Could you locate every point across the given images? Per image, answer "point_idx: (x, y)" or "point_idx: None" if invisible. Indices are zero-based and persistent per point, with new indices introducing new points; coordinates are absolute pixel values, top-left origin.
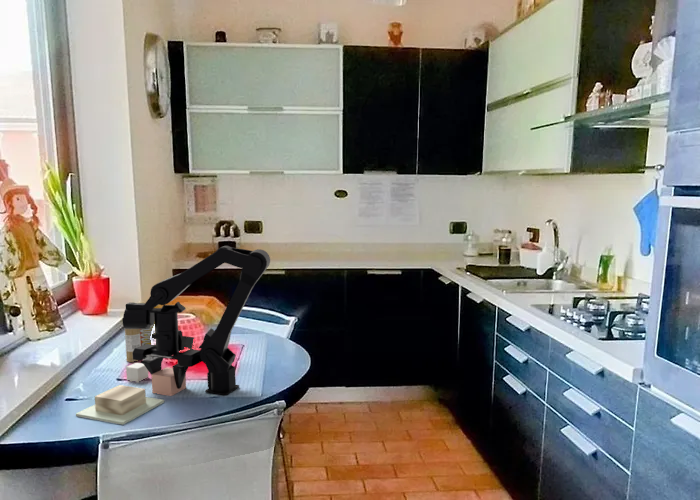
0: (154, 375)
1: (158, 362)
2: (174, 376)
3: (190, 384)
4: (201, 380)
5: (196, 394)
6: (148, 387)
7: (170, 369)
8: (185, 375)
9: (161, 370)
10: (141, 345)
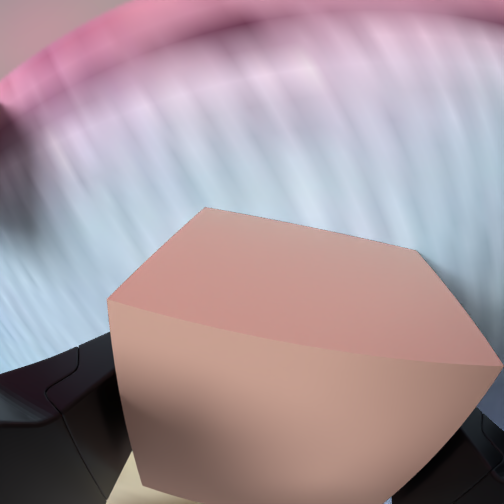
0: (177, 491)
1: (46, 483)
2: (392, 499)
3: (422, 153)
4: (467, 46)
5: (499, 345)
6: (93, 277)
7: (247, 395)
8: (468, 316)
9: (143, 423)
10: None
